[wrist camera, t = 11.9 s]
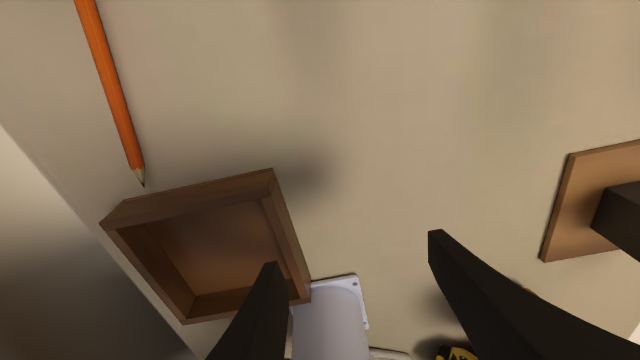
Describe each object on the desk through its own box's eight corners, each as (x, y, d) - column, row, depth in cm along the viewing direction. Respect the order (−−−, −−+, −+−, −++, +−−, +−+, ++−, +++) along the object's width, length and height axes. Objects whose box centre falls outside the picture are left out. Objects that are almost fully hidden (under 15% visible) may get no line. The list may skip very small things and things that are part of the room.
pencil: (39, -195, 11) (19, -212, 10) (153, 185, 20) (147, 191, 20) (17, -197, 11) (-5, -214, 10) (141, 185, 20) (135, 191, 19)
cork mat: (653, 238, 26) (660, 242, 25) (539, 258, 27) (543, 263, 26) (718, 123, 20) (729, 125, 19) (569, 154, 21) (576, 157, 20)
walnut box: (310, 276, 26) (311, 302, 24) (194, 298, 27) (182, 325, 25) (272, 167, 20) (267, 187, 18) (123, 199, 21) (97, 223, 18)
